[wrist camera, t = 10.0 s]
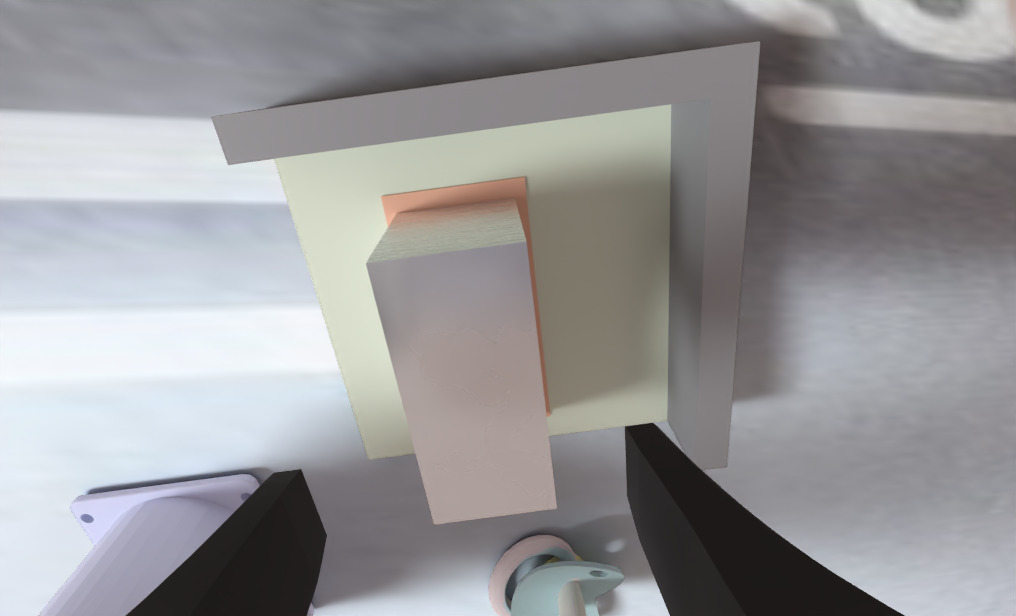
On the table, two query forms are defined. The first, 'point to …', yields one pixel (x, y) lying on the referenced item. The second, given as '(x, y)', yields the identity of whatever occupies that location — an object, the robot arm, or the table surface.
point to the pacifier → (550, 581)
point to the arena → (545, 225)
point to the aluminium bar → (467, 357)
